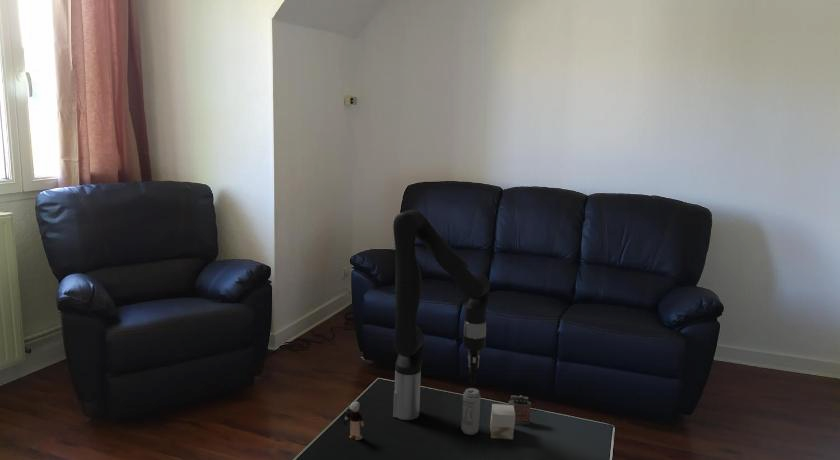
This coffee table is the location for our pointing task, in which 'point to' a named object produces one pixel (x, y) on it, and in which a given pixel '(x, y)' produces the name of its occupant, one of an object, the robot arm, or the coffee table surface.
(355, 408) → the grandmother figurine
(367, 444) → the coffee table surface
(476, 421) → the energy drink can
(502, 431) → the birch block
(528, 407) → the lighter
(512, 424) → the cream block
